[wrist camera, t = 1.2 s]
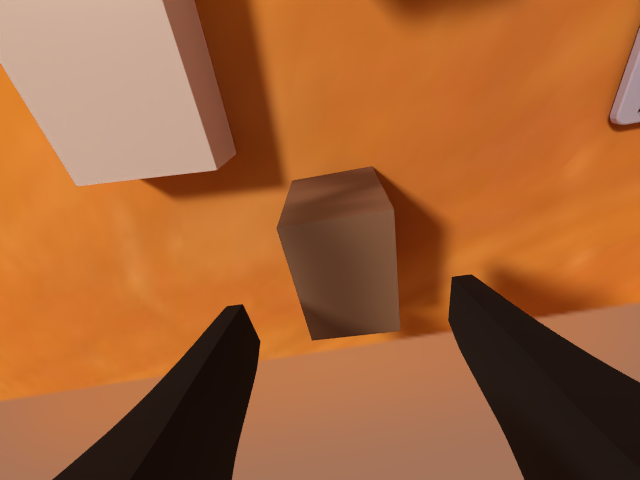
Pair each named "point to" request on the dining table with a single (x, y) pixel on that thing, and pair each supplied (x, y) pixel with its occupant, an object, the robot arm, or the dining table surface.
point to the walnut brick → (342, 253)
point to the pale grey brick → (118, 85)
